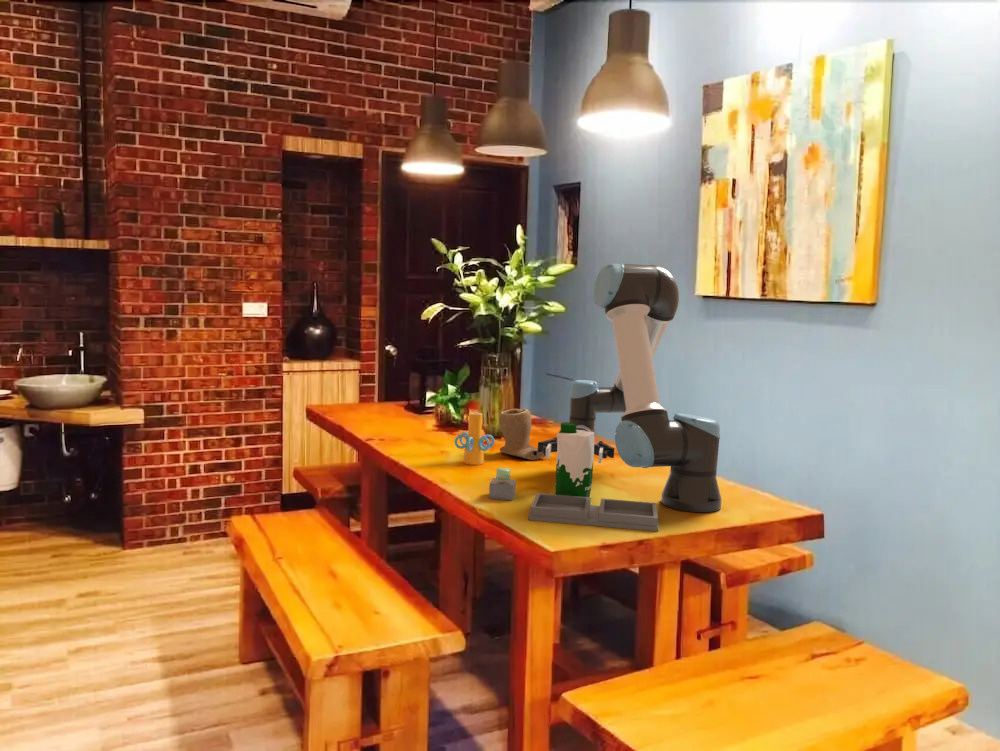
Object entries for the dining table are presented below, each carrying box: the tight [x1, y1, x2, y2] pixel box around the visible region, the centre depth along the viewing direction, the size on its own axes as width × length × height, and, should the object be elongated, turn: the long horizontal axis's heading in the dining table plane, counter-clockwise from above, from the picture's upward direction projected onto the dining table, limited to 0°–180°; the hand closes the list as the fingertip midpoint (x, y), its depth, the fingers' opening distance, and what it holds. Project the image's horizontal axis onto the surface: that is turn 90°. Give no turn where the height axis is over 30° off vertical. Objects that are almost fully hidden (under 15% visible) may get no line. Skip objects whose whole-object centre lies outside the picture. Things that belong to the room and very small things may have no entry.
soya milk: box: [554, 421, 596, 498], centre depth 223 cm, size 9×9×20 cm
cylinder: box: [454, 411, 495, 466], centre depth 263 cm, size 12×10×15 cm
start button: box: [495, 467, 512, 480], centre depth 225 cm, size 4×4×2 cm
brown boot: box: [498, 408, 545, 461], centre depth 275 cm, size 15×12×15 cm
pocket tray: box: [528, 492, 659, 532], centre depth 211 cm, size 30×14×3 cm, turn 81°
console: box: [488, 477, 517, 502], centre depth 226 cm, size 6×6×4 cm
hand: (573, 455), depth 225 cm, fingers open, 13 cm apart
